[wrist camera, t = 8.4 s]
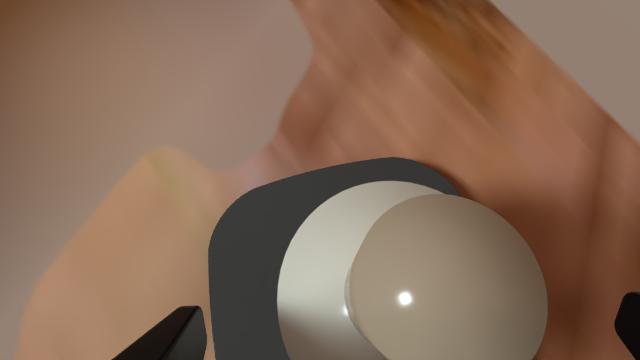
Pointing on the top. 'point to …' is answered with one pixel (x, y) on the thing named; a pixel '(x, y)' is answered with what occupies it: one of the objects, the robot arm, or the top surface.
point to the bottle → (409, 280)
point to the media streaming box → (279, 249)
